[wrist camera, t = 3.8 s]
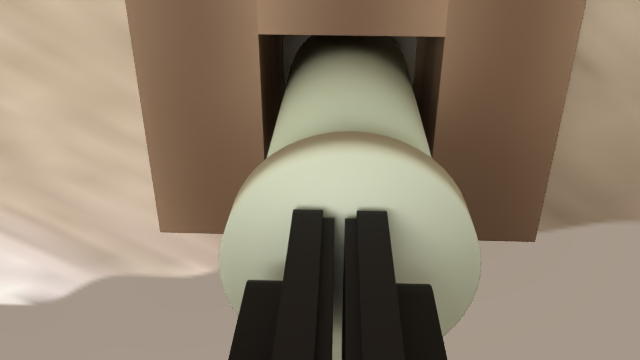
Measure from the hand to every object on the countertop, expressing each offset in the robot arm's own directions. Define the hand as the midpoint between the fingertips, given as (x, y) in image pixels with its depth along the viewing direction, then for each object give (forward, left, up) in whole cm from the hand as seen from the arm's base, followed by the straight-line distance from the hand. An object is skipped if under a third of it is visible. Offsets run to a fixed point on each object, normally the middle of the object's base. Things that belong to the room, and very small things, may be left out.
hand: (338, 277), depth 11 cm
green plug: (0, 0, -11) cm, 10 cm away
